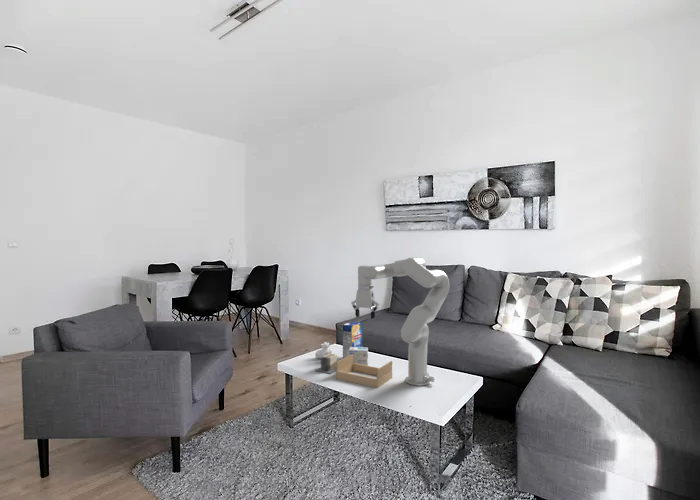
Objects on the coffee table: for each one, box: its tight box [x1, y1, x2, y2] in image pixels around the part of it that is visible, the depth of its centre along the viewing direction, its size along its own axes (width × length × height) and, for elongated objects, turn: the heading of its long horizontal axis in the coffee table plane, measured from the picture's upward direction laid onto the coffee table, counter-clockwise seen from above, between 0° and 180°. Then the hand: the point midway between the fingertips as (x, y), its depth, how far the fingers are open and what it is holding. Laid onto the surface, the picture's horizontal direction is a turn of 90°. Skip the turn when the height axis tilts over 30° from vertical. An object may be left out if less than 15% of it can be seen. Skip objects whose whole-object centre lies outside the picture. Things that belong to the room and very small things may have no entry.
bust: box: [315, 341, 333, 360], centre depth 245 cm, size 12×8×11 cm
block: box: [320, 353, 338, 371], centre depth 224 cm, size 5×9×7 cm, turn 149°
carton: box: [335, 354, 393, 389], centre depth 211 cm, size 25×17×9 cm
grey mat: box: [315, 366, 336, 375], centre depth 225 cm, size 10×12×1 cm
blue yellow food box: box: [342, 321, 363, 359], centre depth 243 cm, size 7×11×22 cm, turn 143°
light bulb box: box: [349, 346, 369, 366], centre depth 230 cm, size 11×7×11 cm, turn 84°
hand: (365, 317), depth 225 cm, fingers open, 9 cm apart
